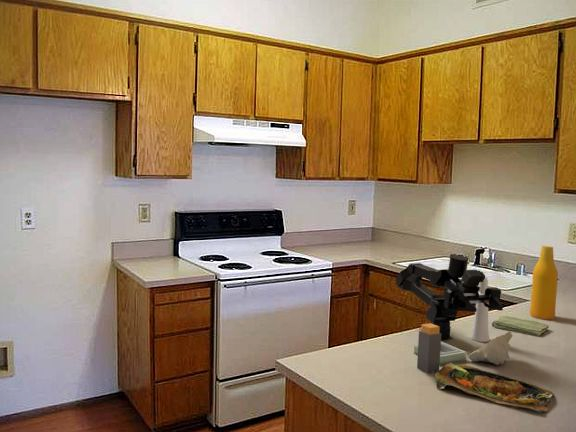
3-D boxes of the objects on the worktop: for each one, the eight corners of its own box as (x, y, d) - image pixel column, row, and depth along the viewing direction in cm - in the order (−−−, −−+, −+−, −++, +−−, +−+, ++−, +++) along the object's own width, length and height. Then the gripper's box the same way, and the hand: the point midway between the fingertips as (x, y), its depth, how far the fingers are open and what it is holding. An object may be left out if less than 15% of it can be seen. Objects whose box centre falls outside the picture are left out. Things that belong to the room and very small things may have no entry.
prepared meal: (555, 379, 140) (546, 402, 125) (555, 392, 140) (545, 416, 125) (449, 360, 155) (429, 377, 140) (449, 371, 156) (429, 390, 141)
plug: (416, 368, 155) (419, 324, 153) (428, 365, 157) (430, 322, 155) (427, 373, 151) (429, 328, 150) (439, 371, 153) (441, 326, 152)
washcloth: (541, 338, 188) (541, 329, 188) (490, 328, 199) (490, 320, 199) (549, 330, 199) (549, 322, 198) (500, 321, 209) (501, 313, 209)
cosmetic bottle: (493, 341, 182) (497, 278, 180) (478, 342, 180) (482, 278, 178) (482, 336, 188) (485, 274, 186) (467, 337, 186) (471, 275, 184)
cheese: (482, 377, 154) (527, 348, 152) (466, 355, 157) (509, 327, 155) (483, 375, 168) (523, 349, 166) (468, 355, 171) (508, 329, 169)
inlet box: (414, 353, 167) (414, 345, 167) (440, 348, 172) (440, 341, 172) (438, 365, 157) (439, 356, 157) (465, 360, 162) (466, 351, 162)
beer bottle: (559, 320, 212) (564, 248, 209) (535, 319, 212) (540, 247, 209) (548, 314, 221) (553, 245, 218) (525, 313, 221) (530, 244, 219)
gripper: (438, 266, 169) (466, 285, 154) (488, 265, 174) (520, 283, 159) (433, 299, 171) (460, 320, 157) (482, 297, 177) (513, 317, 162)
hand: (489, 309), depth 159 cm, fingers open, 9 cm apart
